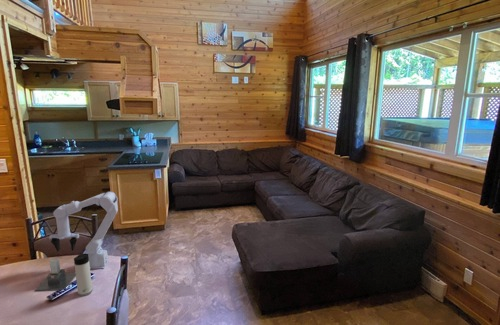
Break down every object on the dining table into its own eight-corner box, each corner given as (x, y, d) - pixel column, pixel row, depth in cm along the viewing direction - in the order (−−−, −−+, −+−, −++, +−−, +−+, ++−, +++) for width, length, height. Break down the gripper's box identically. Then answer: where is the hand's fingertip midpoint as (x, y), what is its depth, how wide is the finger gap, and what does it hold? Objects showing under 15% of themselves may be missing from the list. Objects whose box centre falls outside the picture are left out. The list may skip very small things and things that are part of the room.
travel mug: (86, 297, 146) (82, 259, 142) (75, 295, 147) (70, 258, 143) (95, 289, 152) (91, 253, 148) (84, 287, 153) (80, 251, 149)
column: (61, 273, 158) (58, 257, 156) (58, 277, 155) (55, 260, 153) (54, 274, 158) (52, 257, 156) (51, 277, 155) (49, 260, 153)
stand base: (77, 273, 165) (76, 264, 164) (65, 289, 151) (63, 279, 150) (50, 274, 163) (48, 265, 162) (35, 291, 150) (33, 281, 149)
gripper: (45, 231, 161) (48, 254, 164) (74, 230, 163) (76, 253, 166) (51, 225, 168) (54, 247, 171) (79, 224, 170) (81, 246, 173)
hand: (65, 250), depth 169 cm, fingers open, 7 cm apart
